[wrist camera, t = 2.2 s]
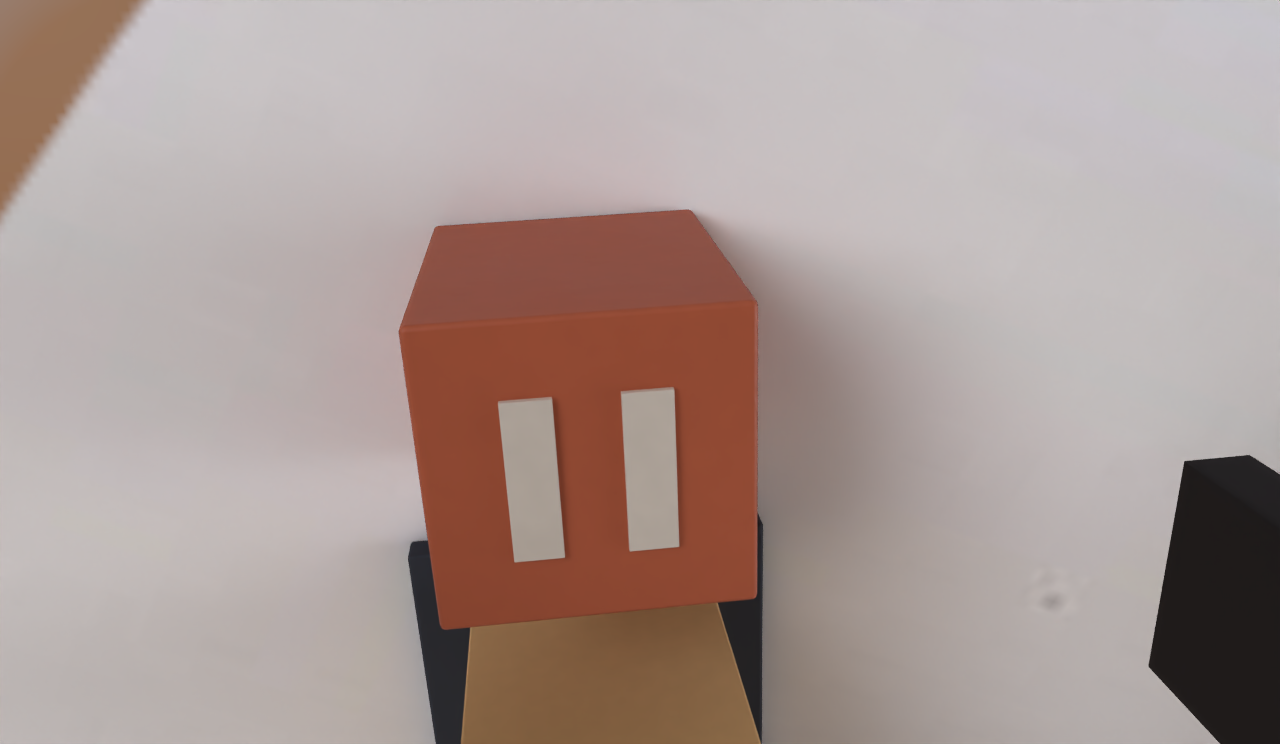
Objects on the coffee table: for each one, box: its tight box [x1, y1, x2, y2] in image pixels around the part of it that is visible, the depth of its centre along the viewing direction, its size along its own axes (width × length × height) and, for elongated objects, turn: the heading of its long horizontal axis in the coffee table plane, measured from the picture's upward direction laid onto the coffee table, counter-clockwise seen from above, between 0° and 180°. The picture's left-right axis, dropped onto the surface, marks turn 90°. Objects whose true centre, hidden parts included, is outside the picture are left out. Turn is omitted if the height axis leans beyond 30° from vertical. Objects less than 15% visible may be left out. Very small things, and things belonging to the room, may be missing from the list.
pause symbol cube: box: [399, 210, 758, 630], centre depth 16 cm, size 5×5×6 cm
